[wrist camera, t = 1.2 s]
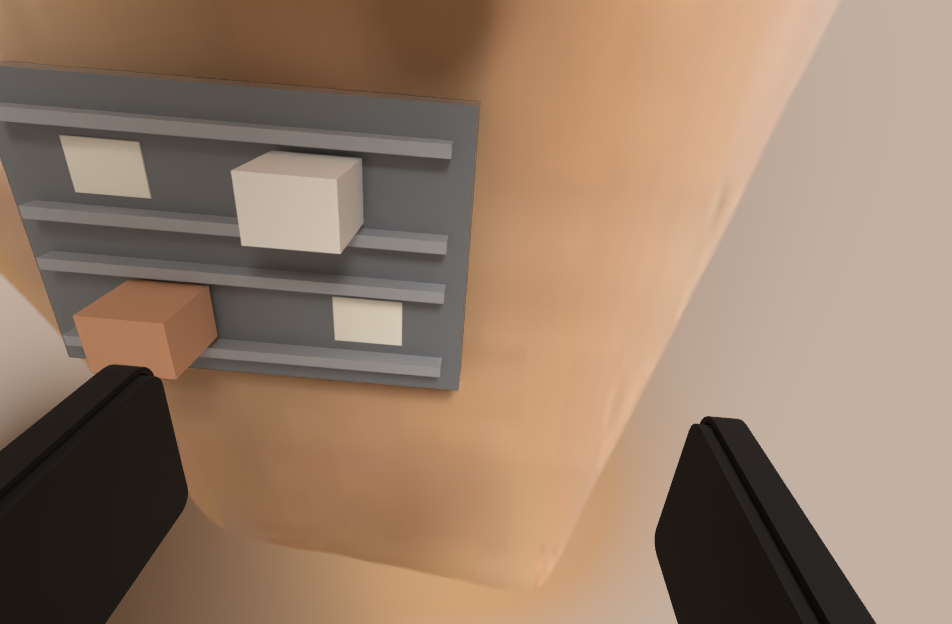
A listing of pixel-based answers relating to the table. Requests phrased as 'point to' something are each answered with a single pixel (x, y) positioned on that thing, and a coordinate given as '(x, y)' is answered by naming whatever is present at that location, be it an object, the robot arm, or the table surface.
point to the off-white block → (299, 201)
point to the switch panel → (216, 223)
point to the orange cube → (148, 326)
